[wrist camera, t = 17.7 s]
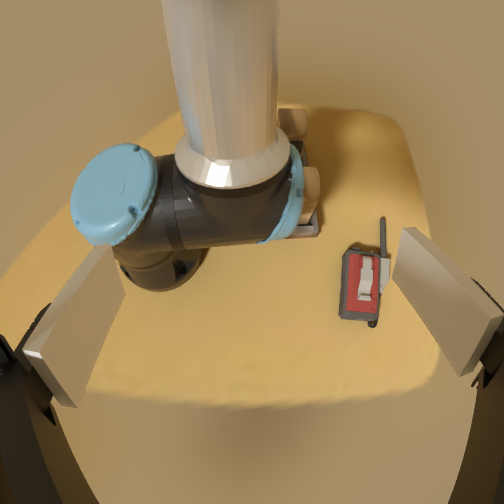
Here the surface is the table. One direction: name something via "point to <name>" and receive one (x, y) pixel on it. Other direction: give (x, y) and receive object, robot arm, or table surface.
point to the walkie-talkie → (364, 281)
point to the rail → (296, 131)
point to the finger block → (310, 193)
